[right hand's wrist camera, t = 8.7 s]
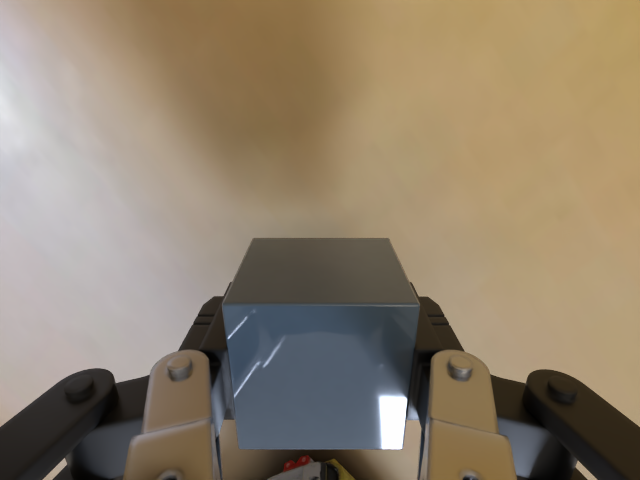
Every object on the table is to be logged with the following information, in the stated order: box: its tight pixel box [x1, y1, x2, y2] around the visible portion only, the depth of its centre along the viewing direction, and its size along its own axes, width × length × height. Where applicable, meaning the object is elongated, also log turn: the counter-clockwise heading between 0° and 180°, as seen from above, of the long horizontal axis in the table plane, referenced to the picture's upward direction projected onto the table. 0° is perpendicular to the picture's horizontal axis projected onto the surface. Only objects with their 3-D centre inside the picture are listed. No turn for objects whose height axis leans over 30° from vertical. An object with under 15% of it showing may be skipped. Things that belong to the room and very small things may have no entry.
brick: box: [222, 238, 420, 450], centre depth 11 cm, size 5×4×4 cm
